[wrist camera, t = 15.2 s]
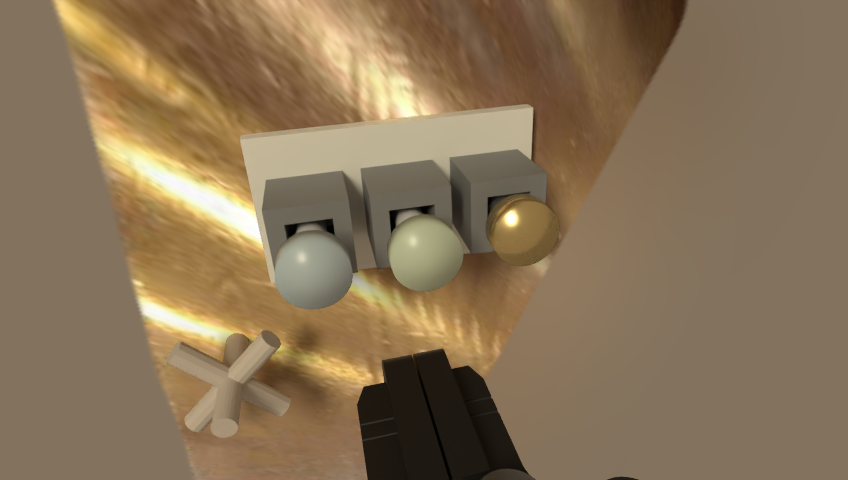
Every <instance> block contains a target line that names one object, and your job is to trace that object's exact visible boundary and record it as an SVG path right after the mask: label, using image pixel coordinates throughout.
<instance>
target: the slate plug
mask: <svg viewBox="0 0 848 480" xmlns="http://www.w3.org/2000/svg"><path fill="white" fill-rule="evenodd" d="M352 278H353V272H352V266H351V261H350V256H349V252H348V249H347V248H346V246H345V244H344V243H343V242H342V241H341V240H340V239H339V238H338V237H336V236H335V235H333V234H331V233H328V232H327V225H326V219H325V220H317V221H310V222H303V223H295V234H294V235H293V236H291V237H289V238H288V239H287V240H286V241H285V242H284V243H283V244H282V245H281V247H280V248H279V250H278V253H277V256H276V264H275V284H276V287H277V289H278V291H279V293H280V294H281V296H282V297H283V298H284V299H285V300H286V301H288V302H289V303H291V304H292V305H295V306H297V307H300V308H304V309H321V308H325V307H328V306H330V305H333V304H335V303H336V302H338V301H339V300H340V299H342V298H343V297H344V296H345V294H346V293H347V292H348V290H349V288H350V286H351V283H352Z"/></svg>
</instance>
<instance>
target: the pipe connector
mask: <svg viewBox="0 0 848 480" xmlns="http://www.w3.org/2000/svg"><path fill="white" fill-rule="evenodd" d="M280 345H281V343H280V340H279V338H278V337H277V336H276V335H275V334H274V333H272V332H270V331H268V330H264V331H262V332H261V333H260V334H259V335H258V337H257V338H256V339H255V340H254V341H253V342H252V343H251V344H250V345H249V346H248V339H247V337H246V336H244V335H242V334H232V335H231V336H229V337H228V339H227V341H226V346H225V352H224V357H223V362H221V361H219V360H217V359H215V358H213V357H211V356H209V355H207V354H205V353H203V352H201V351H199V350H197V349H195V348H193V347H191V346H189V345H187V344H185V343H183V342H181V341H179V342H178V343H177V344H176V345H175V346H174V348H173V349H172V350H171V352H170V354H169V355H168V358H167V360H166V363H167V364H169V365H171V366H173V367H175V368H178V369H180V370H182V371H184V372H186V373H188V374H190V375H192V376H194V377H196V378H198V379H201V380H203V381H205V382H207V383H209V384H211V385H213V386H212V388H211V389H210V390H209V391H208V392H207V393H206V394H205V395H204V396H203V397H202V399H201V400H200V401H199V402H198V403H197V404H196V405H195V406H194V407H193V409H192V410H191V411H190V412H189V413H188V414H187V415H186V417H185V424H186V425H187V427H188V428H189V429H191V430H192V431H195V432H200V431H203V430H204V429H205V428H206V427H207V426H208V424H209V423H210V422H211V421H212V424H211V432H212V433H213V434H214V435H215V436H217V437H221V438H226V437H230V436H232V435H234V434H235V433H236V432H237V430H238V424H239V416H240V407H241V399H242V400H245V401H247V402H249V403H251V404H253V405H255V406H257V407H259V408H261V409H263V410H266V411H268V412H270V413H272V414H274V415H276V416H278V417H281V416H282V415H284V413H285V412H286V411H287V409H288V407H289V405H290V401H291V398H290V396H288V395H286V394H284V393H282V392H280V391H278V390H276V389H274V388H272V387H270V386H269V385H267V384H265V383H263V382H261V381H259V380H257V379H255V378H253V376H254V374H255V373H256V372H257V371H258V370H259V369H260V368H261V367H262V366H263V365H264V364H265V362H266V361H267V360H268V359H269V358H270V357H271V356H272V355H273V354H274V353H275V352H276V351H277V349H278V348H279V347H280Z"/></svg>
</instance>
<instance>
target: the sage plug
mask: <svg viewBox="0 0 848 480" xmlns="http://www.w3.org/2000/svg"><path fill="white" fill-rule="evenodd" d="M390 213H391V216H392V218H393V221H394V223H395V226H396V228H395V229H394V230H393V231H392V233H391V235H390V237H389V239H388V243H387V255H388V259H389V262H390V265H391V268H392V271H393V274H394V276H395V277H396V279H397V280H398V281H399V282H400V283H401V284H402V285H403V286H405V287H407V288H409V289H411V290H415V291H431V290H435V289H438V288H440V287H442V286H444V285H446V284H447V283H449V282H450V281H451V280H452V279H453V278H454V277H455V276H456V275H457V273H458V271H459V270H460V268H461V265H462V261H463V249H462V245H461V243H460V241H459V239H458V238H457V236H456V234H455V233H454V231H453V229H452V228H451V226H450V225H449V224H448V223H447V222H446V221H445V220H443V219H442V218H440V217H437V216H434V215H429V214H423V212H422V210H421V208H420V207H413V208H405V209H398V210H391V211H390Z"/></svg>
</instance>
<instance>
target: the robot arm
mask: <svg viewBox="0 0 848 480" xmlns="http://www.w3.org/2000/svg"><path fill="white" fill-rule="evenodd" d="M382 368H383V376H384V383H380V384H375V385H370V386H365V387H363V390H362V393H361V396H360V398H359V401H358V404H357V407H358V414H359V421H360V428H361V435H362V442H363V449H364V456H365V463H366V470H367V477H368V480H535V479H534V478H533V477H532V476H530V475H529V474H528V472H527V471H526V470H525V468H524V467H523V465H522V463H521V461H520V458H519V456H518V454H517V452H516V450H515V447H514V445H513V443H512V441H511V439H510V436H509V434H508V432H507V430H506V427H505V425H504V423H503V421H502V419H501V416H500V414H499V413H498V411H497V408H496V405H495V403H494V401H493V399H492V398H491V394H490V392H489V390H488V388H487V386H486V383H485V381H484V379H483V378H482V377H481V376H480V375H479V374H477V373H476V372H475V371H474V370H473V369H472V368H471V367H469V366H464V367H459V368H454V369H451V367H450V364H449V361H448V359H447V356H446V354H445V351H444V350H443V349H437V350H432V351H427V352H422V353H417V354H413V357H412V355H407V356H402V357H397V358H392V359H387V360H382ZM608 480H638V479H634V478H629V477H615V478H611V479H608Z"/></svg>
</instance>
